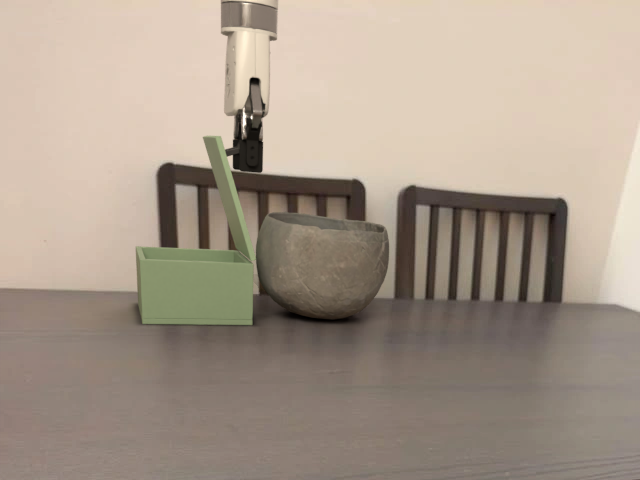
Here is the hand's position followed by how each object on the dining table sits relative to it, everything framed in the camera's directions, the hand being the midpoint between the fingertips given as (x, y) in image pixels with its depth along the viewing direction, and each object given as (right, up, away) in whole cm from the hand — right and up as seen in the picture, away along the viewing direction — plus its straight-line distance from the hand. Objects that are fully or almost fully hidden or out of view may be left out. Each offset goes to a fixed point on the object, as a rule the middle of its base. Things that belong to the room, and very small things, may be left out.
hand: (247, 169), depth 105 cm
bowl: (+10, -19, +12) cm, 24 cm away
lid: (-3, -4, +1) cm, 5 cm away
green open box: (-9, -19, +6) cm, 22 cm away
